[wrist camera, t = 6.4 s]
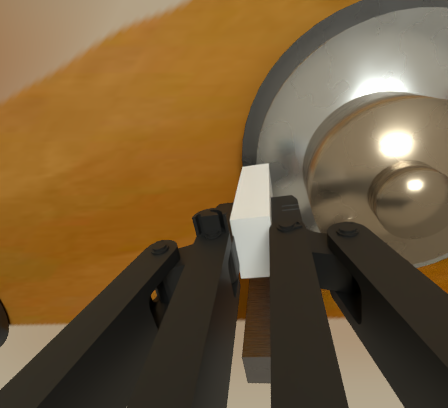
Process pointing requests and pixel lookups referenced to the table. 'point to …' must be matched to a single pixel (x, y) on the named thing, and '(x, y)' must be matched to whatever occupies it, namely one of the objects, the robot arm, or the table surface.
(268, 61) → the table surface
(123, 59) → the table surface
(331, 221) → the cover
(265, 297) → the dial stand
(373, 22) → the turntable
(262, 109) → the turntable base
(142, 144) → the table surface
